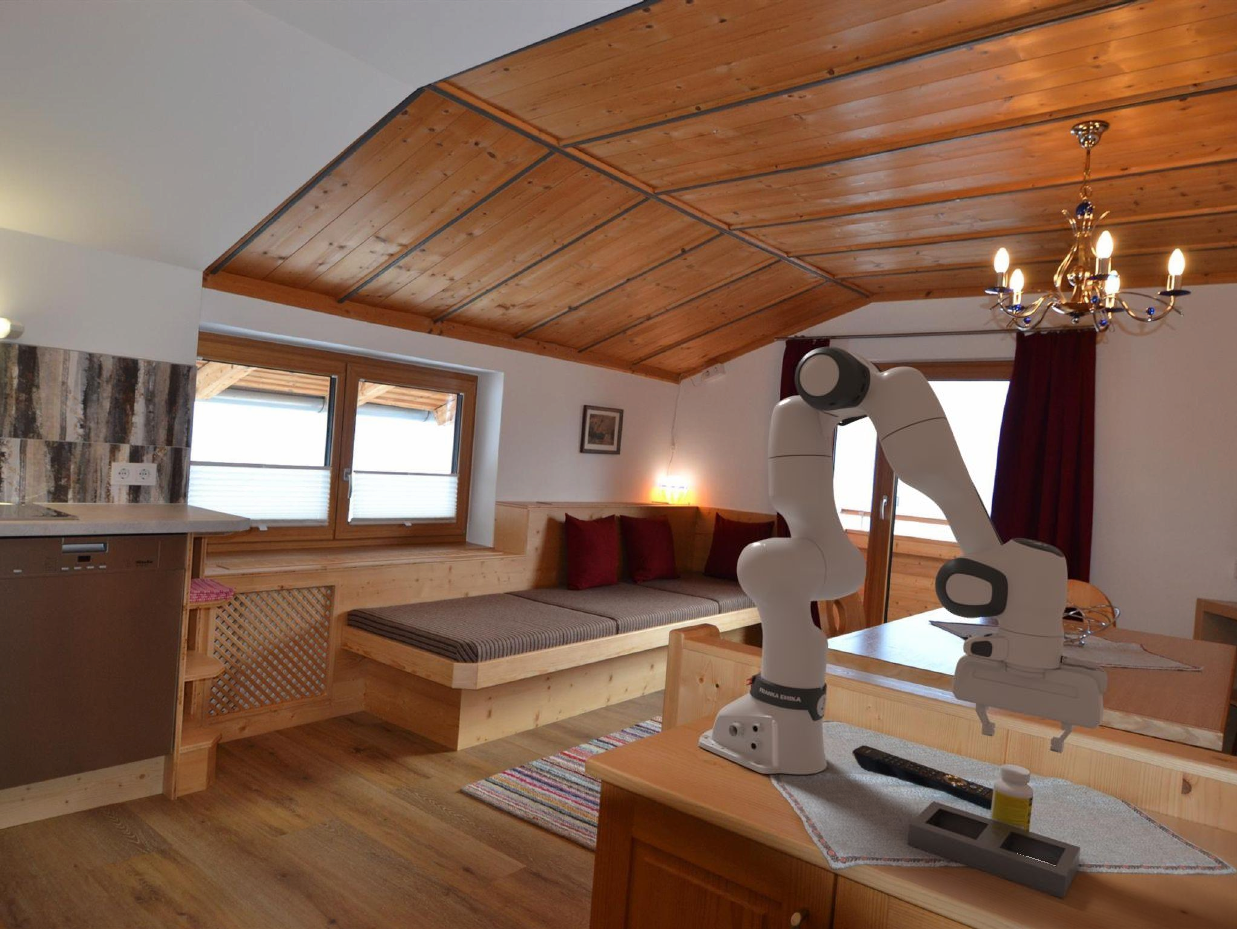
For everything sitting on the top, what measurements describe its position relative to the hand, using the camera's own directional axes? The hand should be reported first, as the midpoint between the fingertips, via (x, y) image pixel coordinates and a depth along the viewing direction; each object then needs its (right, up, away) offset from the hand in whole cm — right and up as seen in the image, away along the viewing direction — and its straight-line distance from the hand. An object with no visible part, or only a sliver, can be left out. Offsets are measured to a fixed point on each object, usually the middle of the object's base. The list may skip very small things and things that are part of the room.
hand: (1021, 743), depth 129 cm
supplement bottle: (-2, -14, +1) cm, 14 cm away
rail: (-7, -14, -7) cm, 17 cm away
